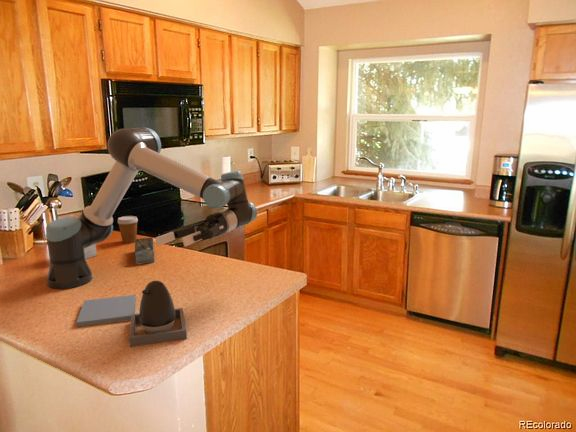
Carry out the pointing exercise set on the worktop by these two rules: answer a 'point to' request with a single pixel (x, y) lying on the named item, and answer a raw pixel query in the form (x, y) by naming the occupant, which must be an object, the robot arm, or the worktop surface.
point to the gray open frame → (157, 336)
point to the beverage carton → (144, 250)
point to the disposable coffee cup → (128, 228)
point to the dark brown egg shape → (156, 308)
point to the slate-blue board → (106, 310)
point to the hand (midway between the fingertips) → (169, 242)
